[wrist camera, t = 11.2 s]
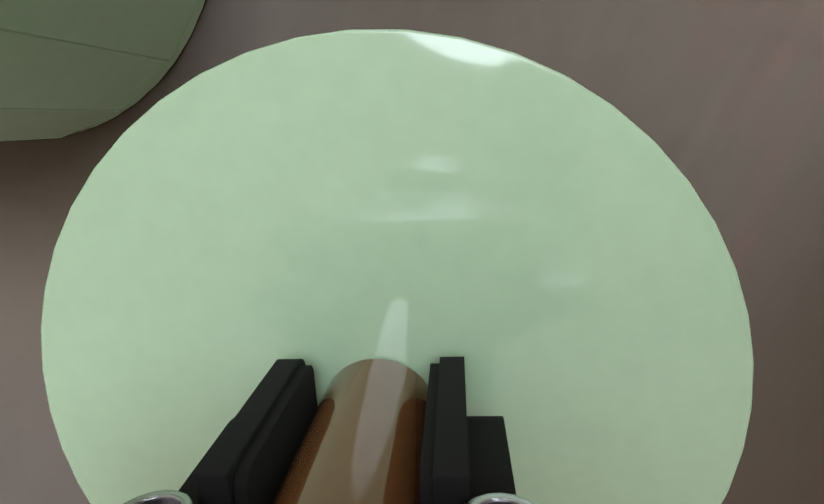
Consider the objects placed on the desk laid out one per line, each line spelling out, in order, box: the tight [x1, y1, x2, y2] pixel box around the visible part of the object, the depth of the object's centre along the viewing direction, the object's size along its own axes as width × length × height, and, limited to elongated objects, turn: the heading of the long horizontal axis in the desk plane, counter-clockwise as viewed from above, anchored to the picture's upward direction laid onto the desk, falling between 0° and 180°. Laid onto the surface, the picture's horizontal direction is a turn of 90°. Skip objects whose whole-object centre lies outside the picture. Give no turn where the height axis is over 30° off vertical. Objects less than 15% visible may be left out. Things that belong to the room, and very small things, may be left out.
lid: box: [41, 29, 754, 504], centre depth 10 cm, size 16×16×6 cm
